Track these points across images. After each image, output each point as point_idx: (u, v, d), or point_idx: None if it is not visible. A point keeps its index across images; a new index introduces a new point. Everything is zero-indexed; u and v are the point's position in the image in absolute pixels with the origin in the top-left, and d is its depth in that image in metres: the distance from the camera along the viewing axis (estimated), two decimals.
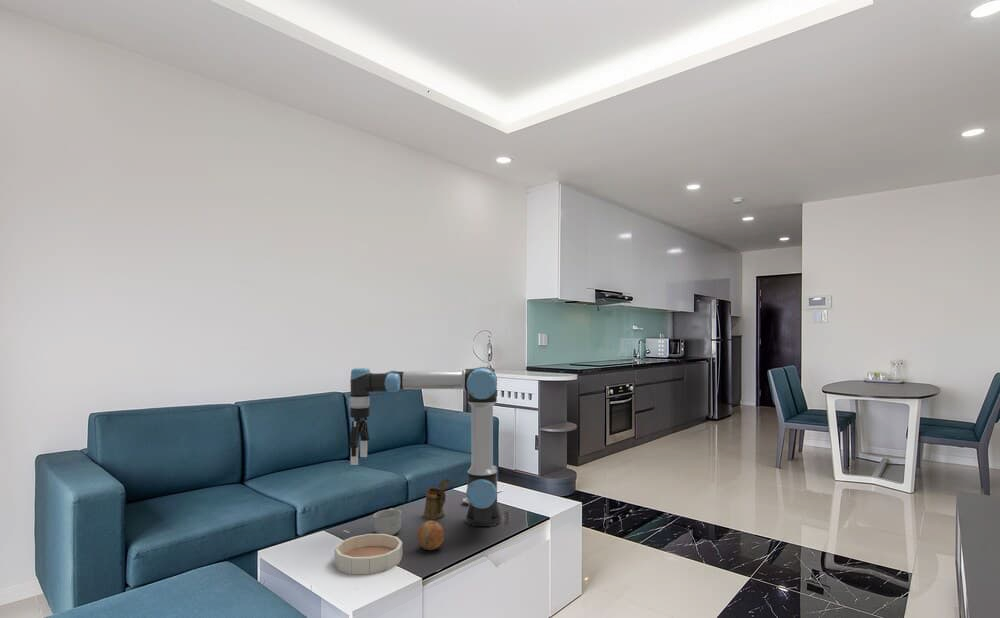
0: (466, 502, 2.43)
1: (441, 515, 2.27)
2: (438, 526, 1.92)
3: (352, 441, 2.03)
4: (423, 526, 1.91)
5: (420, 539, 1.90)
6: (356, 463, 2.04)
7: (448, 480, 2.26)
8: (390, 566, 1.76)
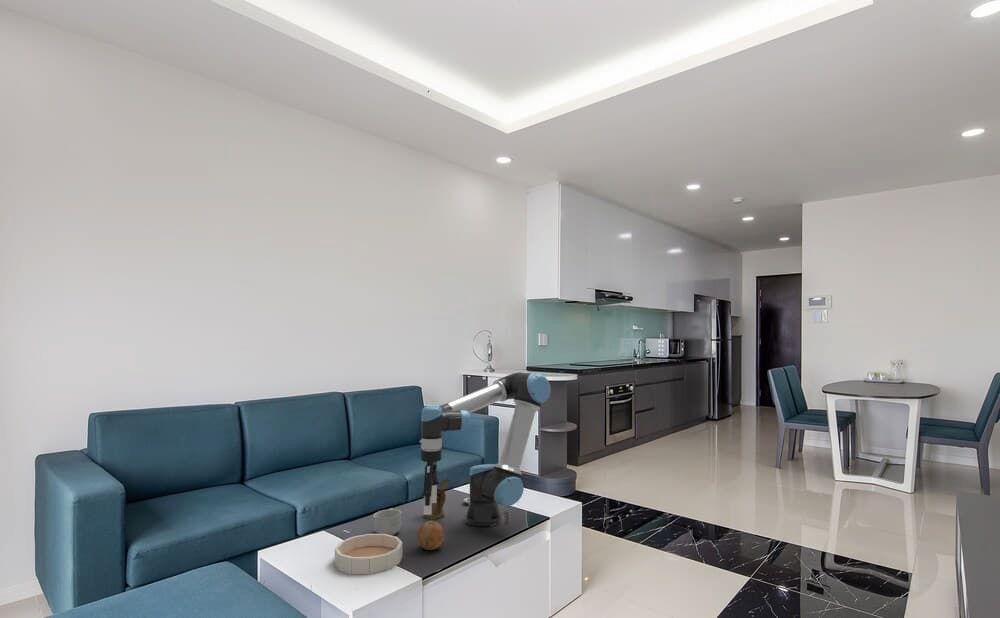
0: (467, 502, 2.43)
1: (441, 515, 2.27)
2: (438, 526, 1.92)
3: (426, 489, 1.85)
4: (423, 526, 1.91)
5: (420, 539, 1.90)
6: (430, 513, 1.86)
7: (448, 480, 2.26)
8: (390, 566, 1.76)
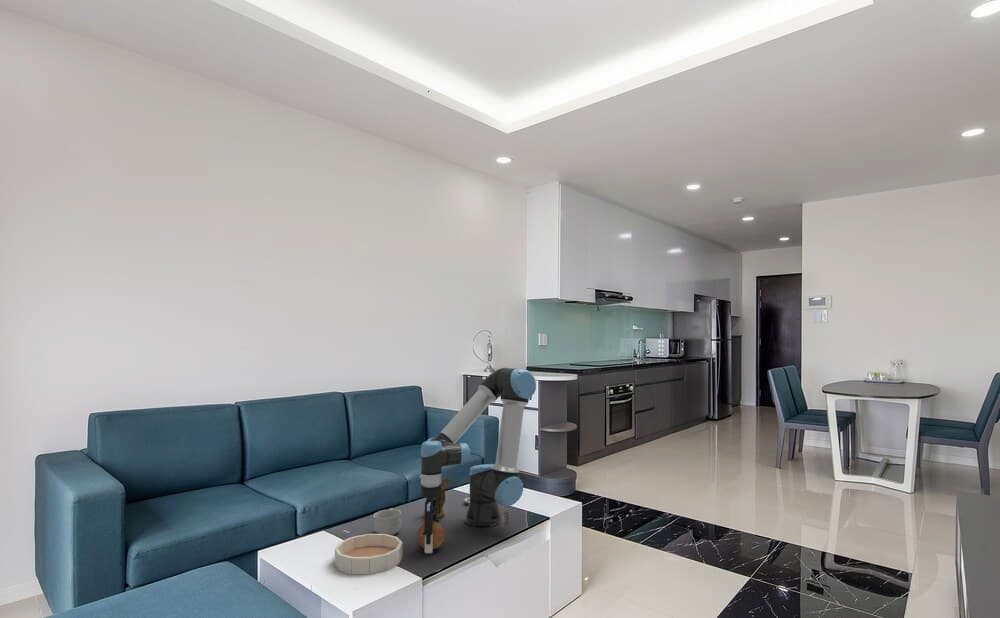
0: (468, 502, 2.43)
1: (441, 515, 2.27)
2: (438, 526, 1.92)
3: (427, 528, 1.85)
4: (423, 526, 1.91)
5: (420, 539, 1.90)
6: (431, 551, 1.87)
7: (448, 480, 2.26)
8: (390, 566, 1.76)
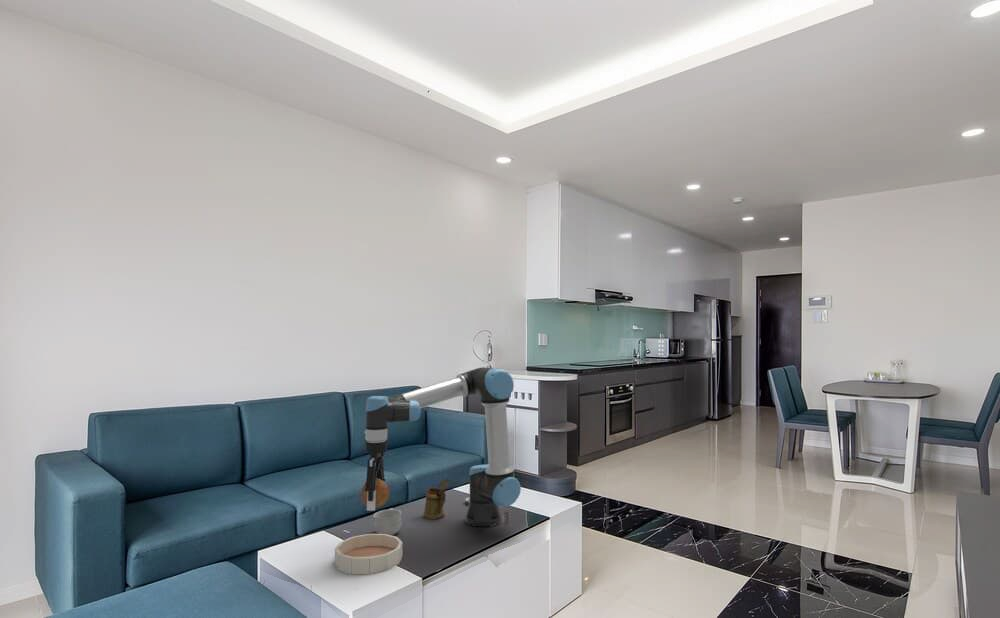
0: (469, 502, 2.44)
1: (441, 515, 2.27)
2: (382, 483, 1.84)
3: (369, 484, 1.77)
4: None
5: (363, 496, 1.82)
6: (373, 509, 1.79)
7: (448, 480, 2.26)
8: (390, 566, 1.76)
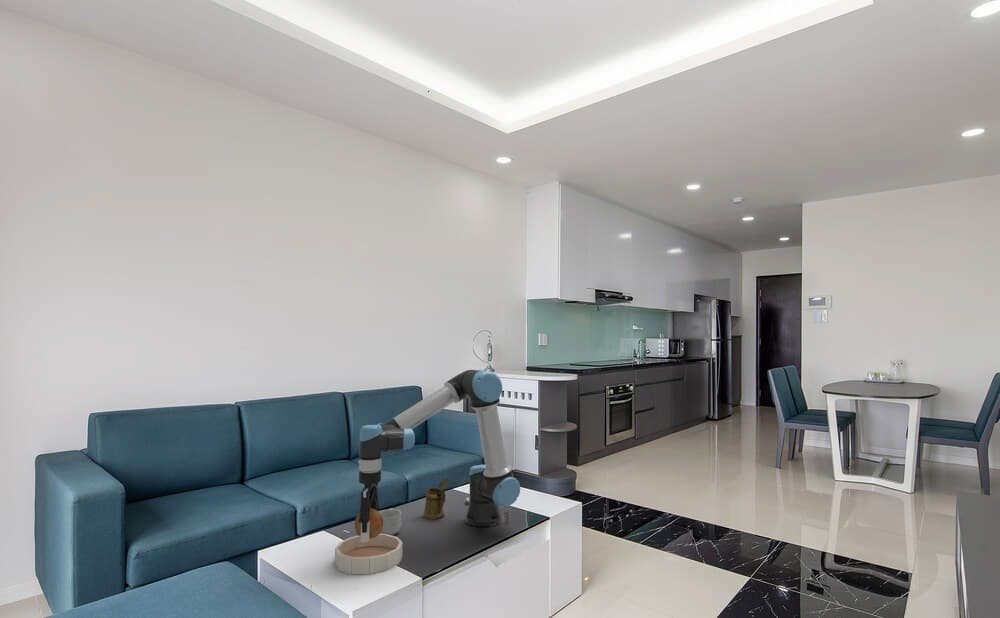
0: None
1: (441, 515, 2.27)
2: (376, 514, 1.83)
3: (362, 516, 1.76)
4: None
5: (356, 527, 1.80)
6: (367, 540, 1.78)
7: (448, 480, 2.26)
8: (390, 566, 1.76)
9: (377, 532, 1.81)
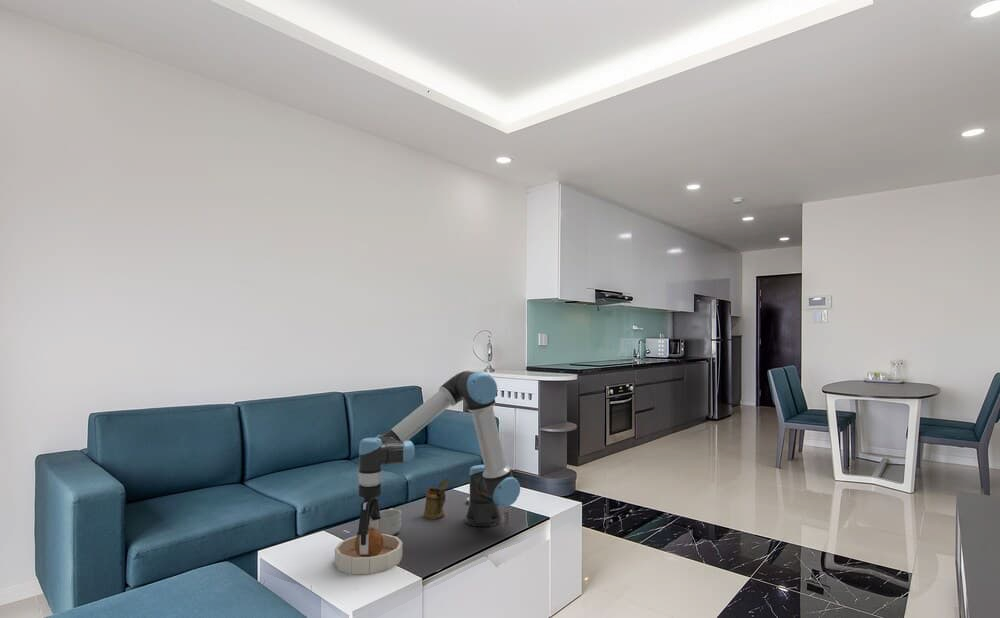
0: None
1: (441, 515, 2.27)
2: (376, 533, 1.82)
3: (361, 528, 1.75)
4: None
5: (357, 547, 1.80)
6: (366, 552, 1.76)
7: (448, 480, 2.26)
8: (390, 566, 1.76)
9: (377, 551, 1.81)
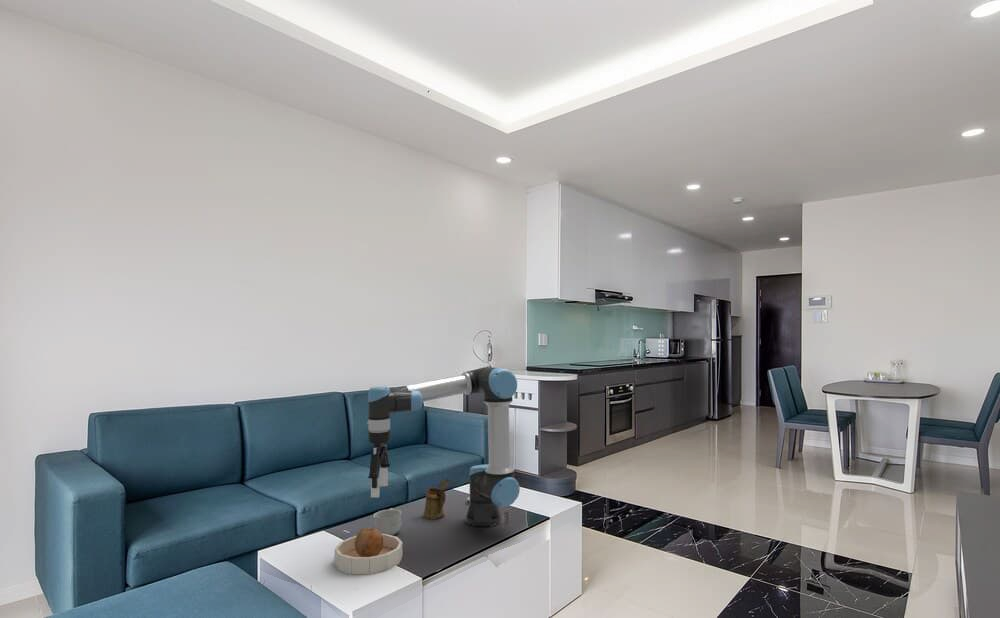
0: None
1: (441, 515, 2.27)
2: (376, 533, 1.82)
3: (372, 471, 1.79)
4: (360, 533, 1.82)
5: (357, 547, 1.80)
6: (377, 495, 1.81)
7: (448, 480, 2.26)
8: (390, 566, 1.76)
9: (377, 551, 1.81)
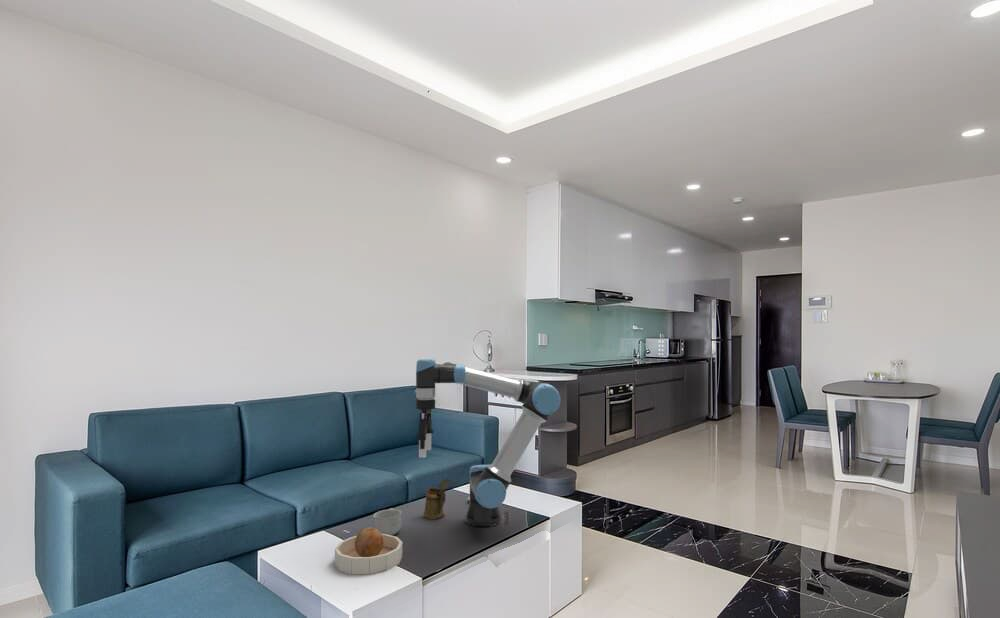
0: None
1: (441, 515, 2.27)
2: (376, 533, 1.82)
3: (421, 433, 1.98)
4: (360, 533, 1.82)
5: (357, 547, 1.80)
6: (424, 456, 2.00)
7: (448, 480, 2.26)
8: (390, 566, 1.76)
9: (377, 551, 1.81)
